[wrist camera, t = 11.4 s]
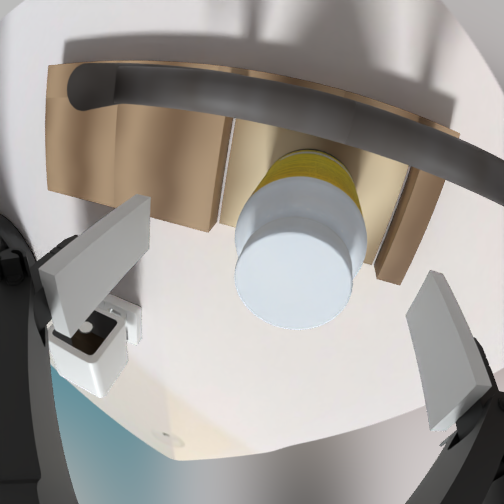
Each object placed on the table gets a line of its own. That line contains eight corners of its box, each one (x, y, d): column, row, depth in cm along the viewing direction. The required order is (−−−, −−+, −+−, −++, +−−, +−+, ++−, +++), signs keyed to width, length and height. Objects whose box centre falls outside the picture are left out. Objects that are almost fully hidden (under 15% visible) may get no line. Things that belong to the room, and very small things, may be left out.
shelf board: (61, 183, 27) (-66, 262, 13) (63, 64, 21) (-93, 96, 7) (395, 271, 24) (431, 457, 10) (449, 129, 17) (614, 221, 4)
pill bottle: (275, 136, 21) (224, 183, 11) (366, 162, 20) (403, 235, 10) (257, 219, 24) (204, 320, 14) (339, 242, 23) (340, 359, 13)
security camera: (145, 297, 31) (93, 365, 23) (145, 340, 35) (104, 404, 26) (97, 277, 32) (41, 335, 23) (101, 321, 35) (57, 377, 27)
